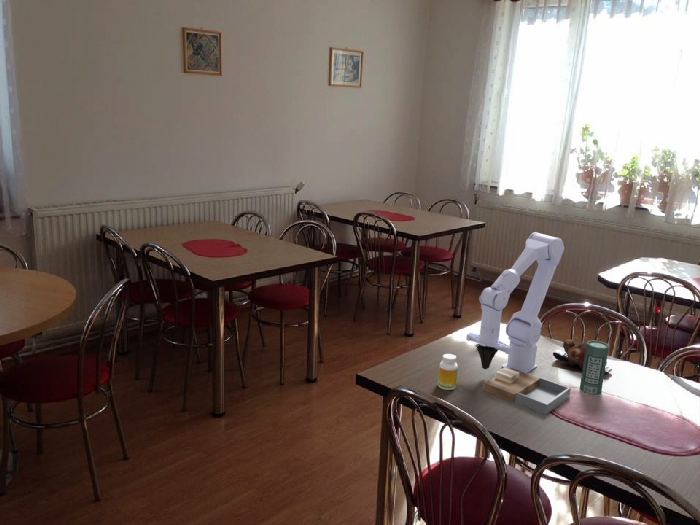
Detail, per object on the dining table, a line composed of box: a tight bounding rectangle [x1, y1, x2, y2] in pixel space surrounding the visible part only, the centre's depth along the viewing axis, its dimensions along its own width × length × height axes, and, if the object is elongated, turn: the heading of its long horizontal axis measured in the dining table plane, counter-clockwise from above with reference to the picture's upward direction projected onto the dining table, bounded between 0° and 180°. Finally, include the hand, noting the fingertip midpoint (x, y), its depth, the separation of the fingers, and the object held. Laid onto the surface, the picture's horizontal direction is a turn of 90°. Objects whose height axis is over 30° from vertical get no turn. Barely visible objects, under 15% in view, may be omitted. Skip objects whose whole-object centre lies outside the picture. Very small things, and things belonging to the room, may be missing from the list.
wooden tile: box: [495, 367, 519, 383], centre depth 187 cm, size 5×5×2 cm
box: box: [514, 376, 572, 415], centre depth 180 cm, size 15×10×3 cm, turn 137°
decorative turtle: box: [562, 339, 608, 371], centre depth 204 cm, size 10×15×8 cm, turn 46°
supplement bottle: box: [437, 353, 459, 391], centre depth 185 cm, size 5×5×10 cm
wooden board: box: [483, 368, 540, 403], centre depth 187 cm, size 16×10×2 cm, turn 137°
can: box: [579, 339, 610, 396], centre depth 186 cm, size 6×6×15 cm
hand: (485, 368), depth 192 cm, fingers closed
